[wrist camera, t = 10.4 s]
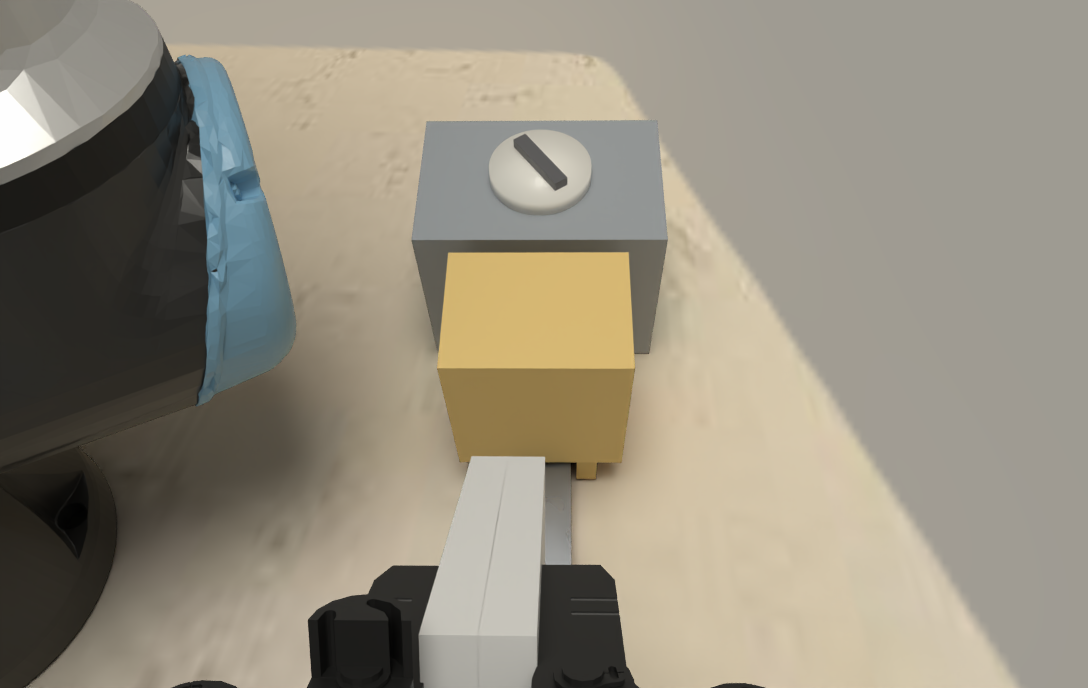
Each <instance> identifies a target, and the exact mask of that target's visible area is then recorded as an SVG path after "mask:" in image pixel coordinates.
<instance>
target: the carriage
mask: <svg viewBox="0 0 1088 688" xmlns="http://www.w3.org/2000/svg"><path fill="white" fill-rule="evenodd" d="M437 370H438V374H439V378H440V382H441V386H442V390H443V394H444V398H445V403H446V407H447V411H448V415H449V419H450V423H451V427H452V431H453V435H454V440H455V444H456V448H457V452H458V456H459V460H460V462H470V460H471V456H515V457H545V462H576V479H596V470H597V463H621V462H622V455H623V448H624V441H625V434H626V427H627V420H628V413H629V406H630V399H631V392H632V385H633V378H634V371H635V361H634V343H633V324H632V306H631V288H630V269H629V252H539V253H448V260H447V271H446V281H445V292H444V302H443V312H442V323H441V333H440V344H439V354H438V365H437Z"/></svg>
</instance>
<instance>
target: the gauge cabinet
mask: <svg viewBox="0 0 1088 688" xmlns="http://www.w3.org/2000/svg"><path fill="white" fill-rule="evenodd" d="M667 241H668V237H667V226H666V214H665V203H664V192H663V180H662V169H661V157H660V146H659V135H658V123H657V120H625V121H427V123H426V131H425V139H424V146H423V154H422V162H421V170H420V178H419V186H418V193H417V201H416V209H415V217H414V225H413V233H412V244H413V248H414V253H415V257H416V261H417V265H418V270H419V274H420V278H421V282H422V287H423V291H424V295H425V299H426V304H427V308H428V312H429V316H430V321H431V325H432V329H433V334H434V338H435V342H436V346H437V351H438V353H439V344H440V333H441V323H442V312H443V302H444V292H445V281H446V271H447V260H448V253H539V252H629V269H630V288H631V306H632V324H633V343H634V353H649V350H650V343H651V337H652V331H653V325H654V319H655V313H656V307H657V301H658V295H659V289H660V283H661V277H662V271H663V265H664V259H665V253H666V247H667Z"/></svg>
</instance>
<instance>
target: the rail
mask: <svg viewBox="0 0 1088 688" xmlns="http://www.w3.org/2000/svg"><path fill="white" fill-rule="evenodd" d="M545 565H571V462H545Z"/></svg>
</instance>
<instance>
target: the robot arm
mask: <svg viewBox="0 0 1088 688" xmlns="http://www.w3.org/2000/svg"><path fill="white" fill-rule="evenodd" d="M295 336H296V318H295V312H294V307H293V302H292V297H291V293H290V288H289V284H288V280H287V275H286V271H285V267H284V263H283V259H282V256H281V252H280V248H279V244H278V241H277V237H276V233H275V229H274V226H273V222H272V219H271V215H270V212H269V208H268V205H267V201H266V198H265V196H264V193H263V191H262V190H261V186H260V178H259V175H258V171H257V168H256V165H255V161H254V158H253V152H252V148H251V144H250V141H249V138H248V134H247V131H246V128H245V124H244V121H243V118H242V115H241V111H240V108H239V105H238V102H237V99H236V96H235V93H234V90H233V87H232V85H231V82H230V79H229V77H228V74H227V72H226V70H225V68H224V67H223V65H222V64H221V63H220V62H219V61H217V60H215V59H213V58H207V57H204V58H195V57H194V56H191V55H188V56H186V55H183V56H180V57H178V58H177V61H175V62H173V59H172V57H171V55H170V53H169V51H168V49H167V46H166V44H165V42H164V40H163V38H162V36H161V33H160V32H159V29H158V27H157V25H156V23H155V21H154V20H153V19H152V18H151V16H150V15H149V14H148V13H147V12H146V11H145V10H144V9H143V8H142V7H141V6H139V5H138V4H136V3H134V2H132V1H130V0H0V688H22V687H24V686H25V685H26V684H27V683H29V682H30V681H31V680H33V679H34V678H35V677H36V676H37V675H38V674H39V673H41V672H42V671H43V670H44V669H45V668H46V667H47V666H48V665H49V664H50V663H51V662H52V661H53V660H54V659H55V658H56V657H57V656H58V655H59V654H60V653H61V652H62V651H63V650H64V648H65V647H66V646H67V645H68V644H69V642H70V641H71V640H72V639H73V638H74V636H75V635H76V633H77V632H78V631H79V629H80V628H81V627H82V625H83V624H84V622H85V621H86V619H87V617H88V616H89V614H90V613H91V611H92V609H93V607H94V605H95V604H96V602H97V600H98V598H99V596H100V594H101V592H102V589H103V587H104V584H105V582H106V579H107V576H108V573H109V570H110V567H111V563H112V560H113V555H114V550H115V544H116V531H117V522H116V511H115V504H114V500H113V496H112V493H111V490H110V487H109V485H108V483H107V481H106V479H105V477H104V475H103V474H102V472H101V471H100V469H99V468H98V467H97V465H96V464H95V463H94V462H93V461H92V460H91V458H90V457H88V456H87V455H86V454H85V453H84V452H83V451H82V450H81V449H79V448H78V447H77V446H80V445H83V444H86V443H88V442H91V441H94V440H97V439H100V438H103V437H105V436H108V435H111V434H114V433H117V432H119V431H122V430H125V429H128V428H131V427H133V426H136V425H139V424H142V423H145V422H148V421H150V420H153V419H156V418H159V417H162V416H164V415H167V414H170V413H173V412H176V411H178V410H181V409H184V408H187V407H190V406H193V405H195V406H199V405H203V404H204V403H206V402H209V401H210V400H211V399H212V398H213V396H214V394H217V393H219V392H221V391H224V390H226V389H228V388H231V387H233V386H235V385H237V384H240V383H242V382H244V381H247V380H249V379H251V378H253V377H256V376H258V375H260V374H263V373H265V372H267V371H269V370H271V369H273V368H274V367H275V366H276V365H277V364H279V363H280V362H281V360H282V359H283V358H284V357H285V356H286V355H287V354H288V353H289V351H290V349H291V348H292V345H293V342H294V340H295ZM308 628H309V643H310V659H311V674H312V678H311V680H310V682H309V684H308V686H307V688H639V687H638V686H637V685H636V684H635V683H634V679H633V677H632V675H631V673H630V670H629V668H627V667H626V660H625V653H624V645H623V638H622V630H621V623H620V615H619V608H618V601H617V593H616V586H615V580H614V579H613V578H612V577H611V576H610V575H609V574H608V572H607V571H606V570H605V569H604V568H603V567H602V566H601V565H545V457H515V456H471V460H470V463H469V467H468V470H467V473H466V477H465V480H464V483H463V487H462V490H461V494H460V497H459V500H458V504H457V507H456V510H455V514H454V517H453V520H452V524H451V527H450V531H449V534H448V537H447V541H446V544H445V547H444V551H443V554H442V558H441V561H440V564H439V566H392V567H390V568H389V569H388V570H387V571H385V572H384V573H383V574H382V575H380V576H379V577H378V578H377V579H375V580H374V582H373V584H372V587H371V589H370V591H369V593H368V594H366V595H355V596H349V597H346V598H342V599H339V600H335V601H332V602H330V603H328V604H327V605H325V606H323V607H321V608H319V609H318V610H317V611H316V612H315V613H314V614H313V615H312V616H311V617H310V618H309V619H308ZM172 688H237V687H236V686H233V685H231V684H228V683H225V682H222V681H204V680H201V681H193V682H191V683H190V682H188V683H184V684H180V685H177V686H175V687H172ZM712 688H765V687H760V686H757V685H752V684H746V683H726V684H722V685H718V686H715V687H712Z"/></svg>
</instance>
